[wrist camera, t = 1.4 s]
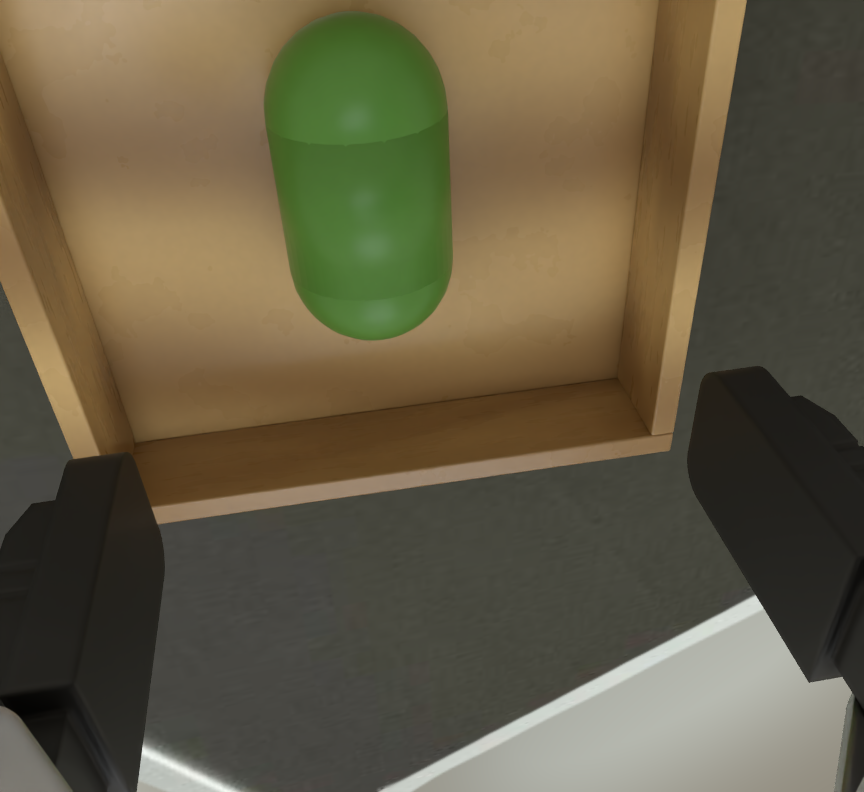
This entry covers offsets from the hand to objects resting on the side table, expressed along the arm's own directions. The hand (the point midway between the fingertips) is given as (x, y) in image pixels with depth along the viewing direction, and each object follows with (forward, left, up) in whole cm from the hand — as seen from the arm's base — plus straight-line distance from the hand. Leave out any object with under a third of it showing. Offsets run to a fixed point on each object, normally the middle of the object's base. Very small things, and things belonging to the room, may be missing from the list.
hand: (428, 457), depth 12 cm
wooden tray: (0, 0, -12) cm, 12 cm away
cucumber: (0, 0, -12) cm, 12 cm away
